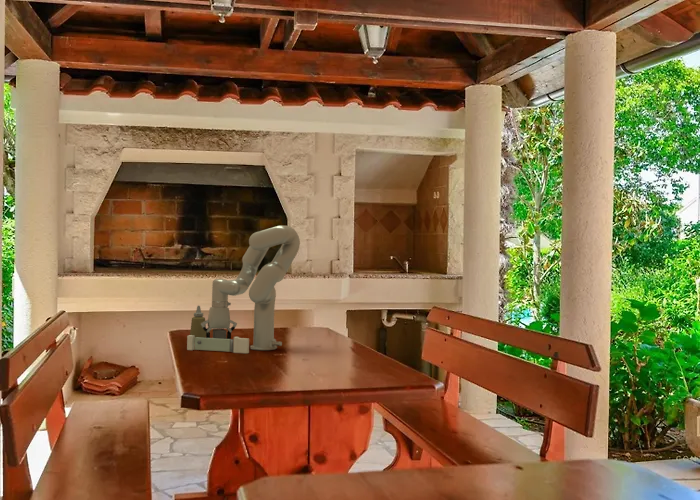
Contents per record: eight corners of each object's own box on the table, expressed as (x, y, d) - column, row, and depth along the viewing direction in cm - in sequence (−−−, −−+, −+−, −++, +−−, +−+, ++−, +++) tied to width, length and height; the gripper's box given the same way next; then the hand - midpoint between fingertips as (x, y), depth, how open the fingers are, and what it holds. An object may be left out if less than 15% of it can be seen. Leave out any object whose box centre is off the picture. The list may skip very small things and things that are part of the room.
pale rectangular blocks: (249, 352, 345) (249, 337, 345) (247, 353, 342) (247, 338, 342) (189, 349, 352) (189, 334, 352) (186, 349, 349) (187, 334, 349)
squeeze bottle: (208, 340, 380) (208, 305, 380) (203, 343, 372) (204, 306, 372) (192, 340, 381) (193, 304, 380) (187, 342, 373) (188, 306, 372)
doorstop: (222, 345, 366) (223, 328, 366) (226, 347, 360) (226, 330, 359) (212, 345, 364) (212, 329, 364) (215, 347, 358) (215, 331, 358)
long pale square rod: (233, 351, 346) (233, 339, 346) (231, 352, 344) (231, 340, 344) (195, 349, 350) (196, 337, 350) (193, 349, 348) (193, 337, 348)
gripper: (235, 304, 368) (234, 339, 369) (200, 304, 362) (198, 339, 362) (239, 305, 361) (237, 341, 362) (203, 305, 355) (201, 342, 355)
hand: (218, 340), depth 362 cm, fingers open, 9 cm apart
